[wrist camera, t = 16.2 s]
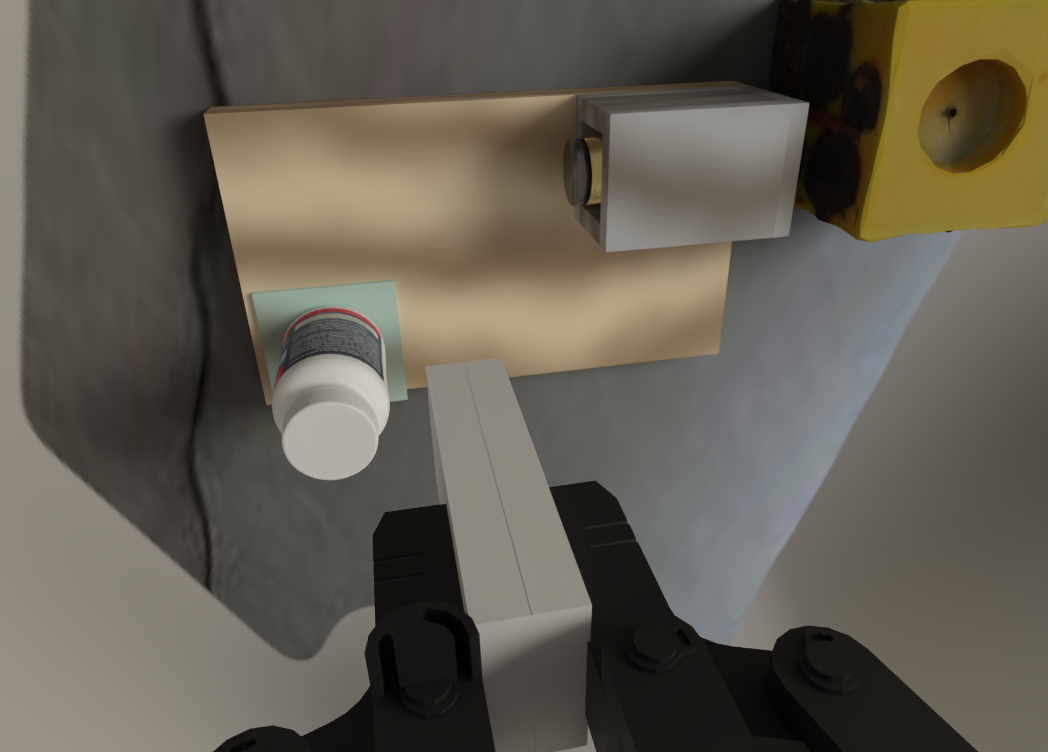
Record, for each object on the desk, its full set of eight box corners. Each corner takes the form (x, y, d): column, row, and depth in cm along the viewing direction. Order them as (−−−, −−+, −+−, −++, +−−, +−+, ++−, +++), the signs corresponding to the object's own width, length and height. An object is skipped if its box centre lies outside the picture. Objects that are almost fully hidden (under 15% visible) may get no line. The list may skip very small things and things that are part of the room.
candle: (912, 179, 44) (1048, 230, 35) (752, 194, 42) (854, 251, 34) (954, -16, 39) (1124, -12, 30) (775, -7, 38) (901, -1, 29)
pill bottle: (270, 312, 38) (249, 400, 30) (373, 294, 38) (378, 375, 31) (297, 402, 40) (284, 503, 33) (393, 383, 41) (403, 478, 33)
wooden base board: (210, 106, 35) (177, 138, 28) (732, 80, 39) (809, 102, 32) (271, 394, 42) (256, 472, 36) (704, 346, 46) (762, 407, 40)
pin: (562, 133, 35) (579, 146, 33) (721, 123, 37) (749, 135, 34) (562, 196, 37) (578, 213, 34) (715, 185, 38) (741, 200, 35)
